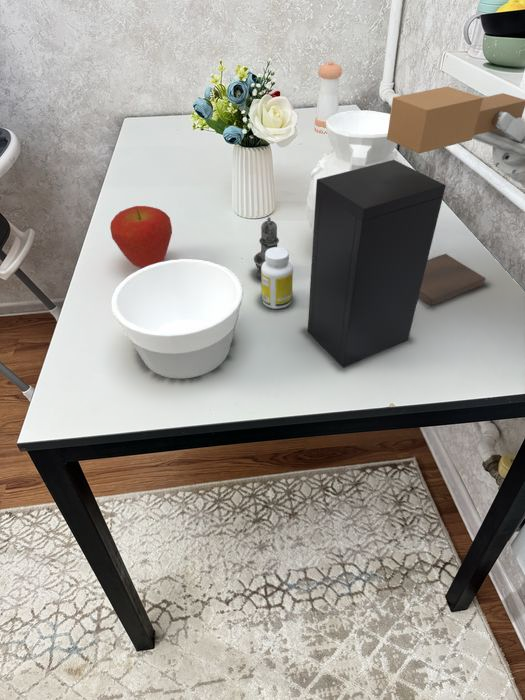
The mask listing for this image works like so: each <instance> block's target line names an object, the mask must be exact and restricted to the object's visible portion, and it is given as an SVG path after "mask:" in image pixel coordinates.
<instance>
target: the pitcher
mask: <svg viewBox="0 0 525 700" xmlns="http://www.w3.org/2000/svg"><path fill="white" fill-rule="evenodd" d="M390 114H391V113H388V112H381V111H376V110H368V109H366V110H365V109H364V110H362V109H361V110H360V109H359V110H347V111H341V112H338V113H336V114H333V115H331V116H330V117H329V118H328V119H327V120H326V129H327V134H326V135H327V137H328V140H329V143H330V146H331V150H332V151H331V152H330V153H327V152H324V153H323V154H322V156H321V159H319V160H318V162H317V165H316V166H315V167H314V168H313V169H312V170H311V172H310V177H311V180H310V184H309V188H308V193H307V199H306V218H307V221H308V224H309V227H310V231H311V233H312V234H313V232H314V216H315V199H316V184H317V179H320V178H324V177H328V176H332V175H336V174H340V173H344V172H348V171H352V170H355V169H359V168H363V167H367V166H371V165H375V164H379V163H383V162H387V161H391V160H396V161H398V162H400V163H402V164H403V162H402V160H401V159H399V158H398V151H397V150H395V148H396V147H397V145H398V144H396V143H394V142H392V141H390V140H388V139H387V135H388V128H389V121H390Z"/></svg>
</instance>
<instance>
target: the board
mask: <svg viewBox="0 0 525 700" xmlns="http://www.w3.org/2000/svg"><path fill="white" fill-rule="evenodd" d="M485 281H486V277H484V276H483V275H481V274H479V273H478V272H476V271H475V270H474V269H471V268H470V267H468V266H467V265H465V264H464V263H462V262H460V261H459V260H457V259H456V258H454V257H453V256H451V255H449V254H447V253H444V254H441V255H438V256H435V257H432V258H430V259H429V258H428V260H427V264H426V269H425V273H424V277H423V281H422V285H421V289H420V293H419V297H418V299H420V300H421V301H423V302H424V303H425V304H426V305H428V306H430V307H432V306H434V305H437V304H439V303H442V302H445V301H447V300H449V299H451V298H454V297H457V296H459V295H461V294H464V293H466V292H469V291H471V290H474V289H476V288H479V287H481V286H483V285H484V284H485Z"/></svg>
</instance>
